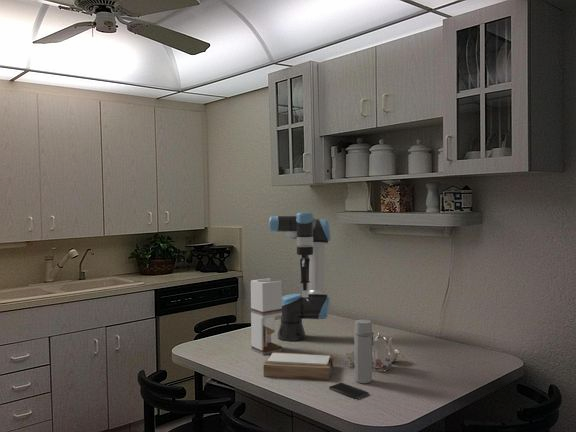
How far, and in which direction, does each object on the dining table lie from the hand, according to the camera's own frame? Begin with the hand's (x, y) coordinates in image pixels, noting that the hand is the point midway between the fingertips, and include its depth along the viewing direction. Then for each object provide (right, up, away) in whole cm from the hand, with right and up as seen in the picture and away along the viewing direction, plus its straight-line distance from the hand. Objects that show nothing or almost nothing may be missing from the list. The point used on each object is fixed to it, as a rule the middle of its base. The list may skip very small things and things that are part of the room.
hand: (305, 296), depth 237 cm
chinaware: (+32, -31, -6) cm, 45 cm away
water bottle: (+24, -31, -24) cm, 46 cm away
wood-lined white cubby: (-19, -30, +20) cm, 41 cm away
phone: (+16, -32, -35) cm, 50 cm away
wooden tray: (-3, -31, -11) cm, 33 cm away
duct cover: (-3, -26, -12) cm, 28 cm away
